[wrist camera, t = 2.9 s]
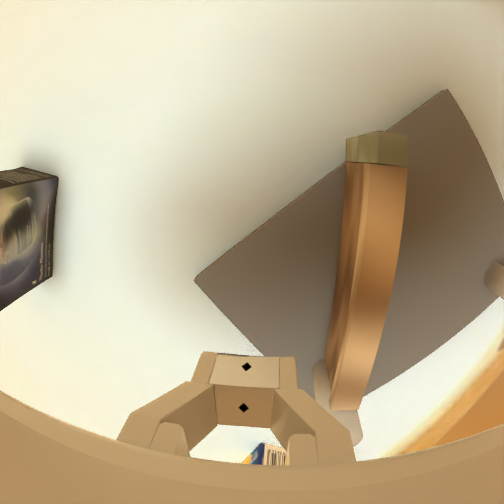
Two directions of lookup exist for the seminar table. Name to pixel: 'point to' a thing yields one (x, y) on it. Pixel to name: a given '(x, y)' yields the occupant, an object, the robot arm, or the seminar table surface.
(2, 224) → the small box
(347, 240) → the gate
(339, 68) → the seminar table surface
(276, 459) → the beverage box
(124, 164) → the seminar table surface
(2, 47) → the seminar table surface
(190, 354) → the seminar table surface
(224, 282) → the grey board with posts
